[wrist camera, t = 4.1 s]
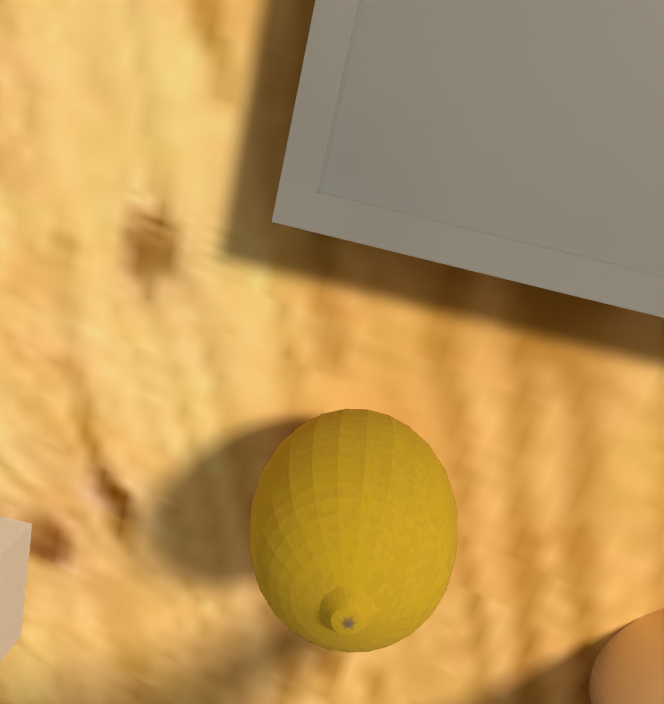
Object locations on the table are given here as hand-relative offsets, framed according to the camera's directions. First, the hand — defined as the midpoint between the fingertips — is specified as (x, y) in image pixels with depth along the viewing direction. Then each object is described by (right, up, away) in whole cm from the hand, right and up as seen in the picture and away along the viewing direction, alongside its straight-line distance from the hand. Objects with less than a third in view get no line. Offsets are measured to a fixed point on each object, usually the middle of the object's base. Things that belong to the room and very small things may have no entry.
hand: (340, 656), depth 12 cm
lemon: (+1, +3, +8) cm, 9 cm away
